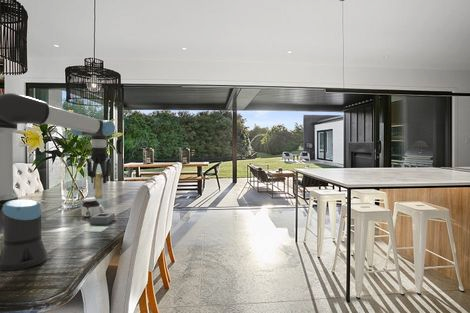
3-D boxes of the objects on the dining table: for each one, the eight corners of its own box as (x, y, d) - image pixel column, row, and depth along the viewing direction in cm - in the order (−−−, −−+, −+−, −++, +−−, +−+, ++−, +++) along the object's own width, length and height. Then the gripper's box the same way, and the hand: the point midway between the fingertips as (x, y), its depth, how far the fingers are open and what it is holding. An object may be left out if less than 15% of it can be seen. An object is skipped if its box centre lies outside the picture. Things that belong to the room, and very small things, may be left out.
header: (107, 224, 161) (107, 217, 160) (89, 224, 161) (89, 217, 160) (114, 219, 171) (114, 213, 170) (98, 219, 171) (98, 213, 170)
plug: (100, 198, 155) (100, 173, 155) (93, 198, 155) (93, 173, 155) (103, 197, 159) (104, 173, 159) (96, 197, 159) (97, 173, 159)
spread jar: (79, 217, 175) (79, 198, 175) (92, 213, 186) (92, 195, 186) (95, 218, 173) (95, 200, 172) (108, 214, 184) (108, 196, 183)
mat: (101, 232, 146) (101, 231, 146) (84, 231, 146) (84, 231, 146) (109, 227, 155) (109, 226, 155) (92, 226, 155) (92, 226, 155)
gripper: (117, 147, 161) (116, 188, 161) (87, 147, 160) (86, 188, 161) (111, 147, 153) (111, 190, 153) (80, 146, 153) (79, 189, 153)
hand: (98, 189), depth 157 cm, fingers closed on plug, 4 cm apart
